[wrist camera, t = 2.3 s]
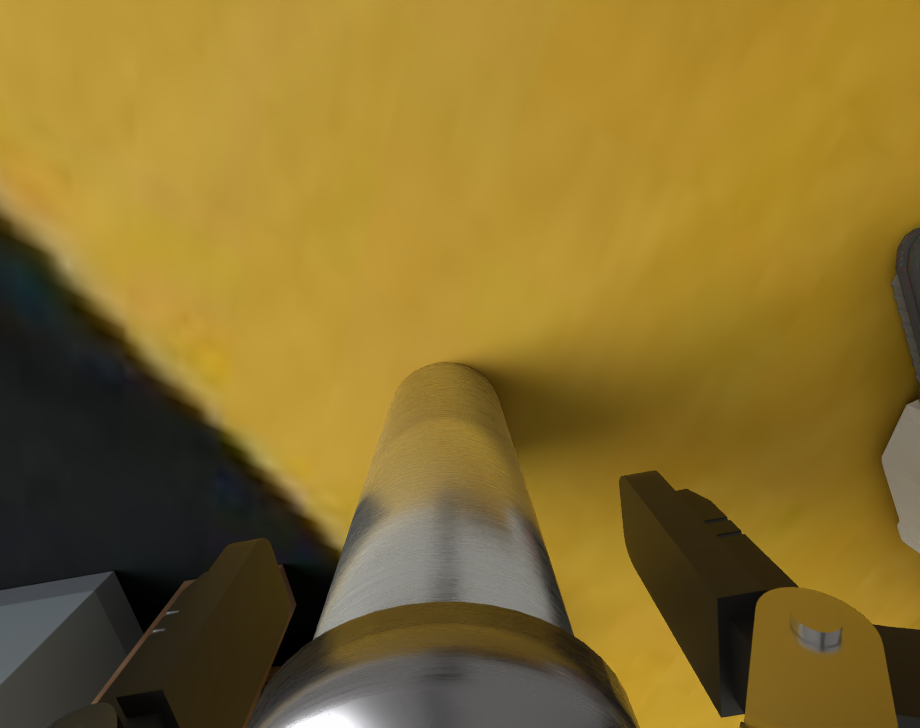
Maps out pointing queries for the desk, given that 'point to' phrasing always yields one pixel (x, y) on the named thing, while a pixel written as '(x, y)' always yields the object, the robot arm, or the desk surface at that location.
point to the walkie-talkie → (916, 434)
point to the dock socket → (61, 646)
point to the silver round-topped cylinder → (444, 589)
